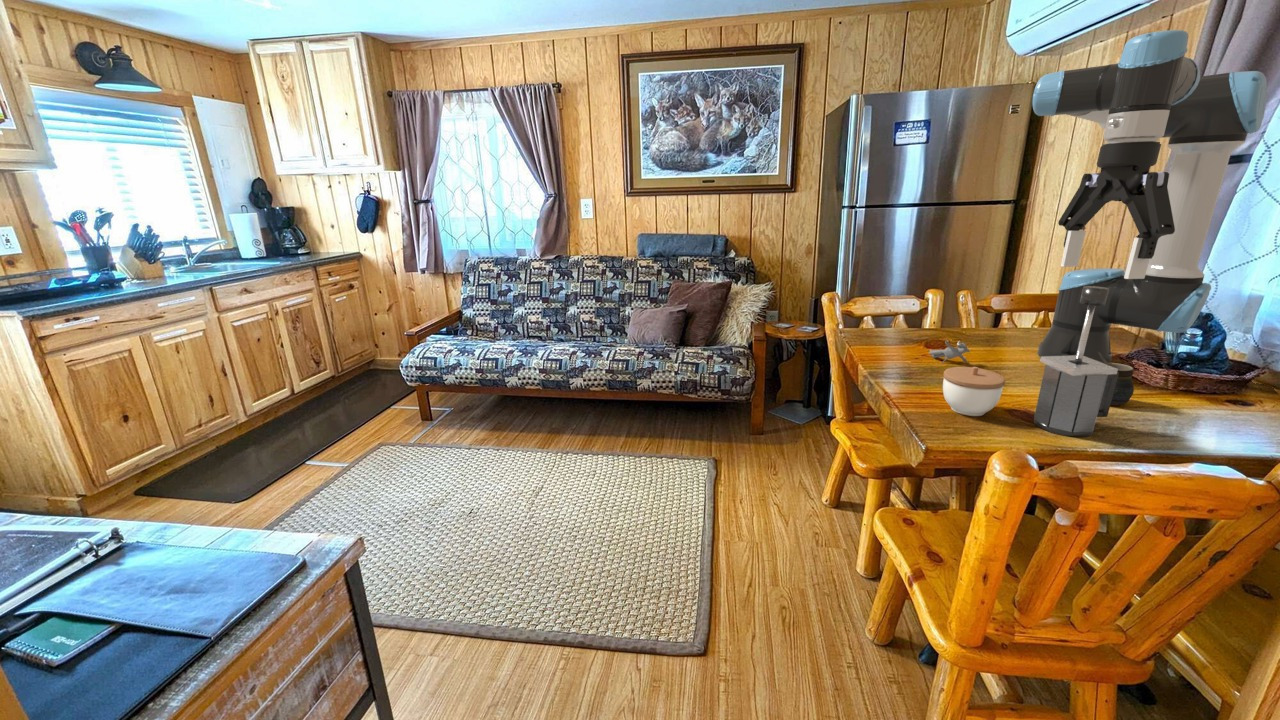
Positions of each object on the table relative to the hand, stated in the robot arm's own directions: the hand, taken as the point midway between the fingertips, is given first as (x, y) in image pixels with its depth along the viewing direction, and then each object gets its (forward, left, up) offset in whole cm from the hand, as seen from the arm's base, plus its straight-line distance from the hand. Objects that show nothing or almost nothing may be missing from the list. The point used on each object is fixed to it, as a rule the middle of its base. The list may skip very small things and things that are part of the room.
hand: (1099, 272), depth 95 cm
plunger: (0, 0, -21) cm, 21 cm away
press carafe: (-2, 0, -30) cm, 30 cm away
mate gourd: (-18, -11, -30) cm, 37 cm away
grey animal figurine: (0, -39, -30) cm, 49 cm away
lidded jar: (+13, -9, -30) cm, 34 cm away
